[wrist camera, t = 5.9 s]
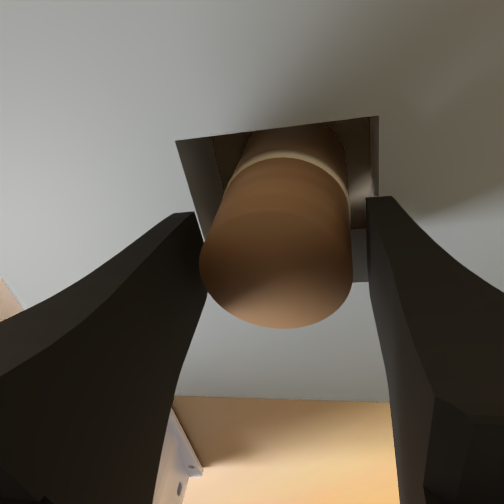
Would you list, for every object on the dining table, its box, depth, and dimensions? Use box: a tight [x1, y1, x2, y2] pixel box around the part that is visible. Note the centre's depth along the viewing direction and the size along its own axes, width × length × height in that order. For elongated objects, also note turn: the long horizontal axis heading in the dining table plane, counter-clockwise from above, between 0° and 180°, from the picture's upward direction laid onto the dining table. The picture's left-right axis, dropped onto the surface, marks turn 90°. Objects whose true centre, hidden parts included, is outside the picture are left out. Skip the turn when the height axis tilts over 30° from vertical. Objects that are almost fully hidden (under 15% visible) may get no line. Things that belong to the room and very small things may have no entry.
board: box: [0, 0, 504, 403], centre depth 13 cm, size 18×22×3 cm
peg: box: [199, 123, 353, 329], centre depth 12 cm, size 4×4×6 cm
